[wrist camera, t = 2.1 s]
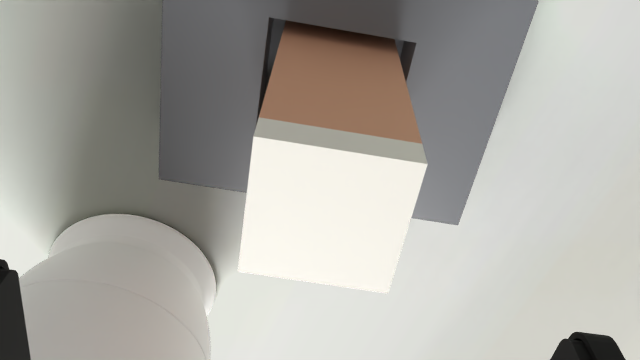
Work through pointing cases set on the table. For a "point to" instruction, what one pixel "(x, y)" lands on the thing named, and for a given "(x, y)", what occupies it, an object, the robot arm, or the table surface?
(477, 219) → the table surface
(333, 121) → the plug
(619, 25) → the table surface
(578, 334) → the robot arm
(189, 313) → the jar
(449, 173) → the grey block
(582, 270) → the table surface
